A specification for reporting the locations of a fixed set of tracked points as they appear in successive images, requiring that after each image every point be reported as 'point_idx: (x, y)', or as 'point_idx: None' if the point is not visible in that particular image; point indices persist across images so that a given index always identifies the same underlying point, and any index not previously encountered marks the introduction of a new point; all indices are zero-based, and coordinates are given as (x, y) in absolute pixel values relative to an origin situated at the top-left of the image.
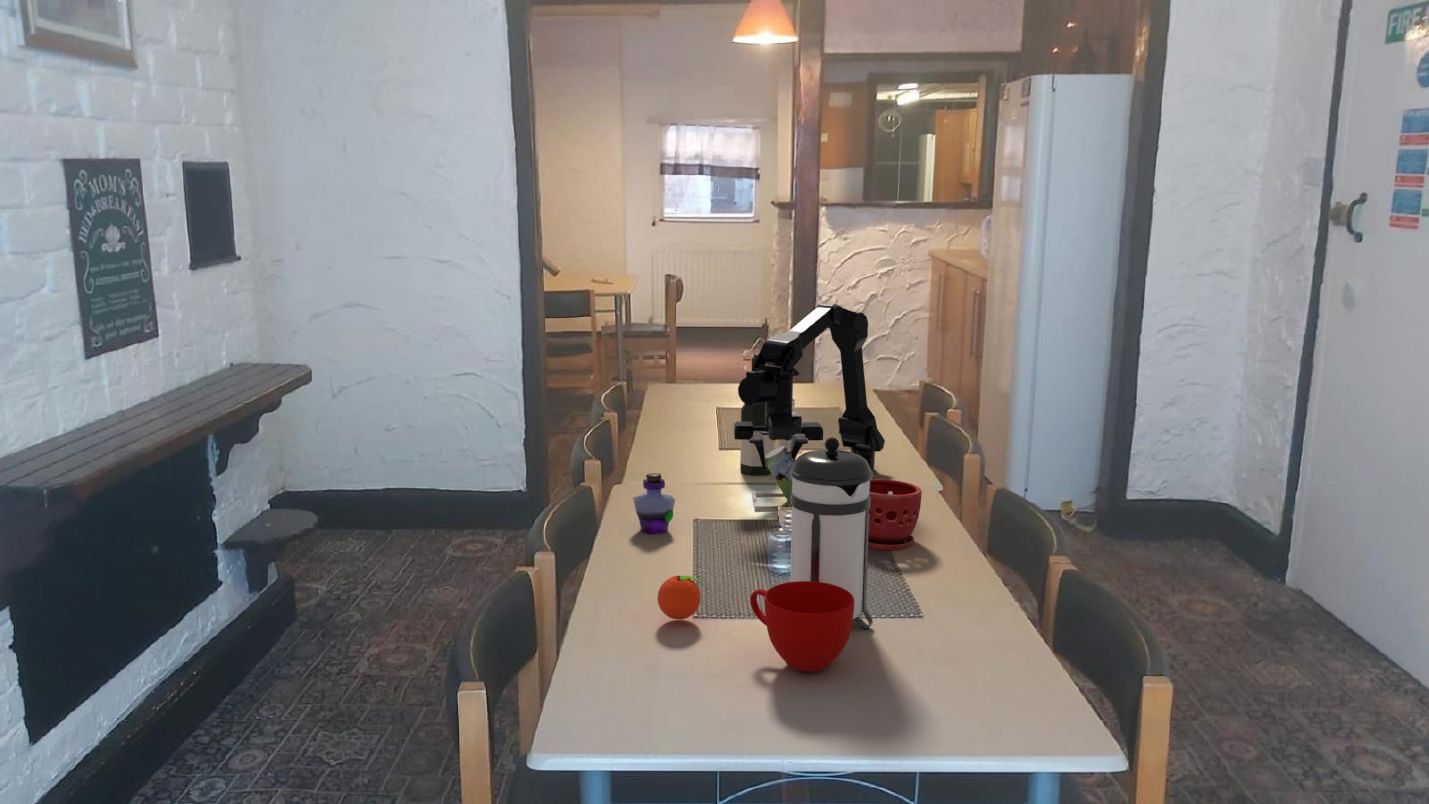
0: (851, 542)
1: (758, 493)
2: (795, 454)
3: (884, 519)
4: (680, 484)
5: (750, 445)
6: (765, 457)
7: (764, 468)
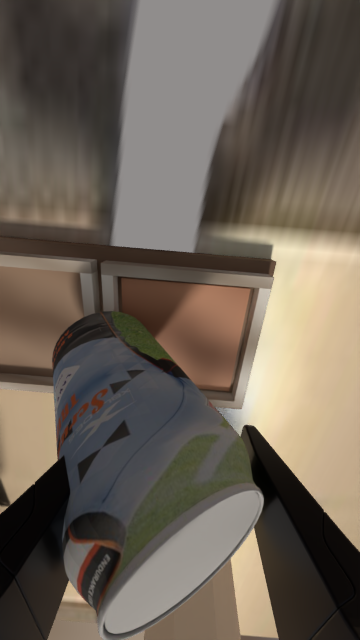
0: None
1: (224, 404)
2: (25, 503)
3: None
4: (355, 503)
5: (219, 630)
6: (255, 511)
7: (251, 432)
